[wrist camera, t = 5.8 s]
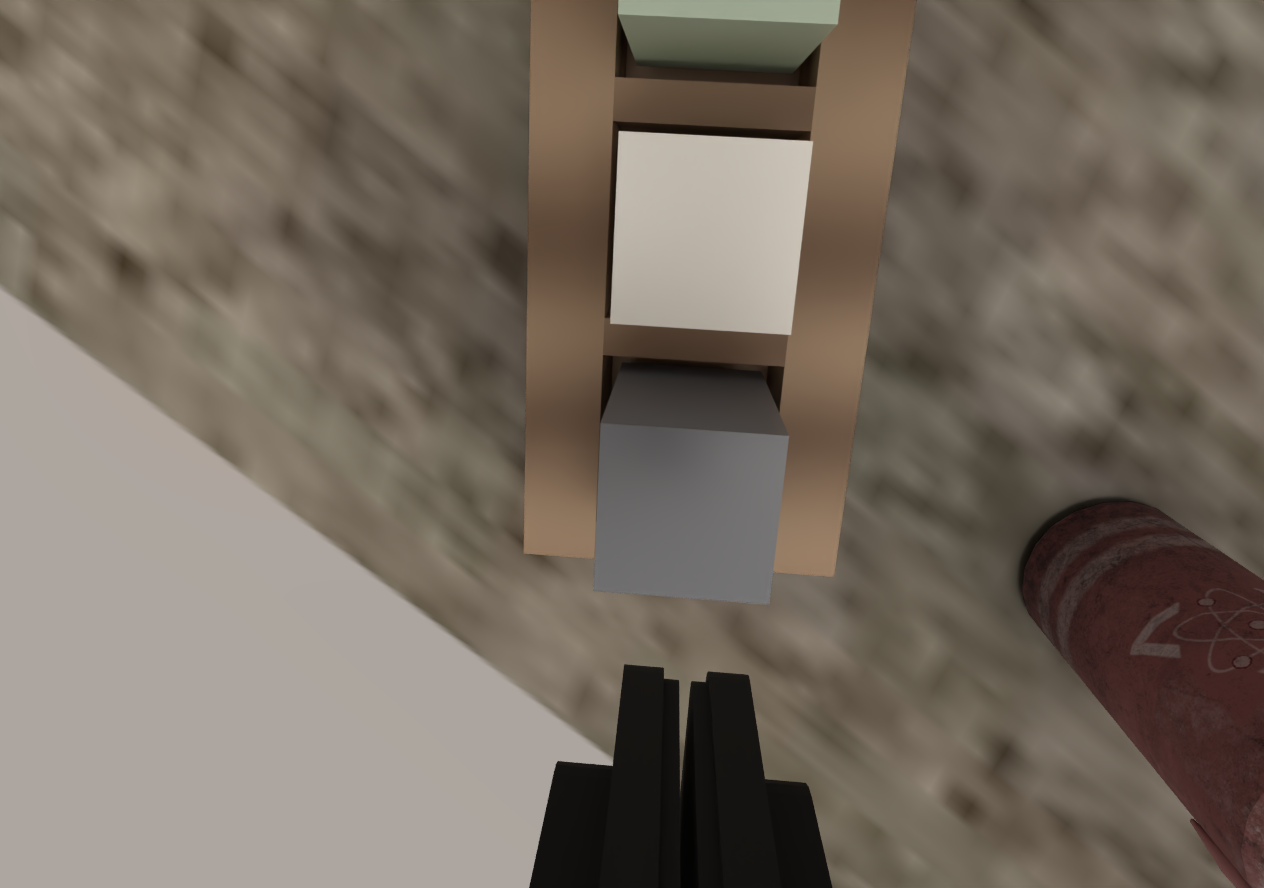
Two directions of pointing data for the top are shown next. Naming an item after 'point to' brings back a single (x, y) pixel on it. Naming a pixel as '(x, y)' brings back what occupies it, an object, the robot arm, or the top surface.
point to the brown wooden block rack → (791, 364)
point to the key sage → (726, 32)
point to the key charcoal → (689, 484)
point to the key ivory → (708, 231)
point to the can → (1166, 659)
